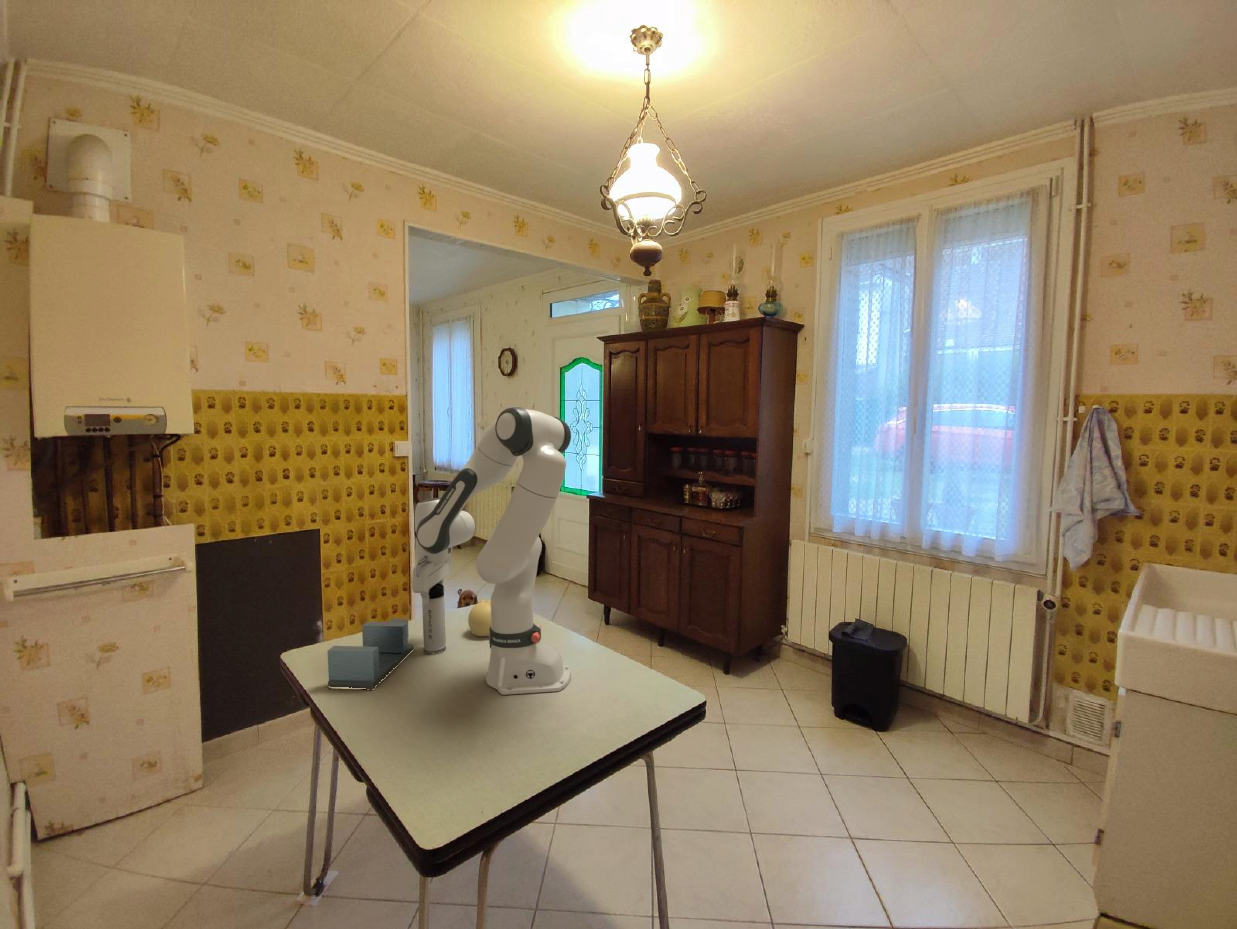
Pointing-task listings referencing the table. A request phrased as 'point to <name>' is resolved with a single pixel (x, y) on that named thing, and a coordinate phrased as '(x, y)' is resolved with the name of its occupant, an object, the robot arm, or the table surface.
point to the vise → (361, 665)
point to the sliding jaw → (386, 635)
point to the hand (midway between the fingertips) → (432, 598)
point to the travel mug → (434, 621)
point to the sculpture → (480, 618)
